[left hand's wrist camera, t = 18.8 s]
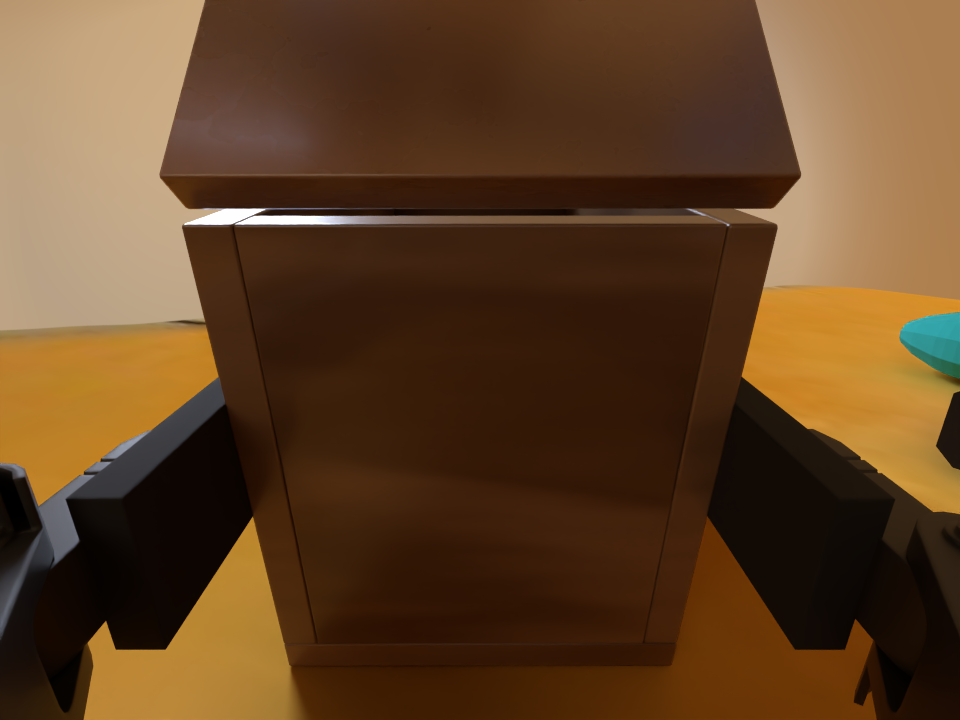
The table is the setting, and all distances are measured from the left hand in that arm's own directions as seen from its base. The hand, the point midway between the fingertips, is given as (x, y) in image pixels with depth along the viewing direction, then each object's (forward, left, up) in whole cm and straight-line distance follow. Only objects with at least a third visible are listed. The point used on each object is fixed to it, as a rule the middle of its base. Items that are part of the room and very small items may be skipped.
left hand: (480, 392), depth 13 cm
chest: (+2, -5, -5) cm, 8 cm away
